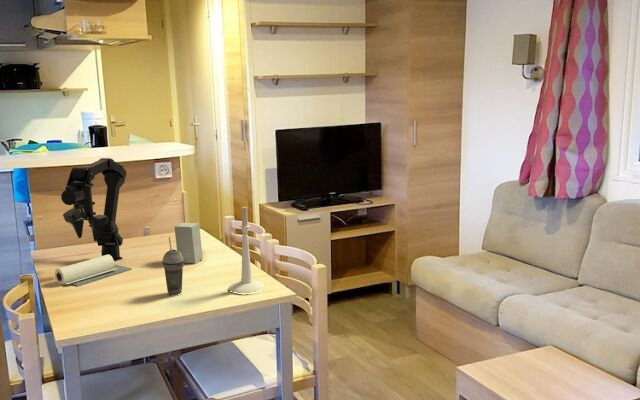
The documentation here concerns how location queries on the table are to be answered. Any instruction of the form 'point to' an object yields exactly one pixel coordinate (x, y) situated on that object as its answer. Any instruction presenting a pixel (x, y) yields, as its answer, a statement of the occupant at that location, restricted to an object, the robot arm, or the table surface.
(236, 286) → the candlestick
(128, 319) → the table surface
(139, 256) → the table surface
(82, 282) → the gray mat
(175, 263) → the beverage cup
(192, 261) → the skincare box
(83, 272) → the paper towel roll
